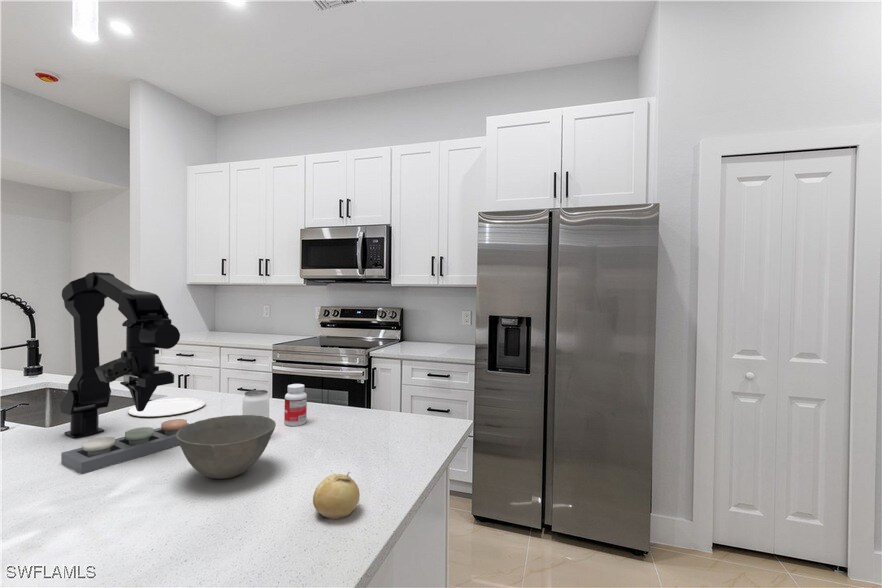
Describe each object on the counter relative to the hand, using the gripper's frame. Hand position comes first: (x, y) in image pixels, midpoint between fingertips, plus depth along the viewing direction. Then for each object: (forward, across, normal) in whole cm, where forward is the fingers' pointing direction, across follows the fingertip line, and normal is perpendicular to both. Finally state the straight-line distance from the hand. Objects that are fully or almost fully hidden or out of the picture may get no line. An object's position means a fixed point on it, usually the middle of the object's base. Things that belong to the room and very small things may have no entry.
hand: (140, 410), depth 101 cm
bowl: (+10, +30, +3) cm, 31 cm away
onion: (+10, +60, +4) cm, 61 cm away
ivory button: (+9, 0, -8) cm, 12 cm away
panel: (+9, 0, 0) cm, 9 cm away
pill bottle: (+10, +15, +34) cm, 38 cm away
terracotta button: (+9, 0, +8) cm, 12 cm away
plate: (+10, -30, +22) cm, 39 cm away
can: (+10, +16, +20) cm, 27 cm away
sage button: (+9, 0, 0) cm, 9 cm away
